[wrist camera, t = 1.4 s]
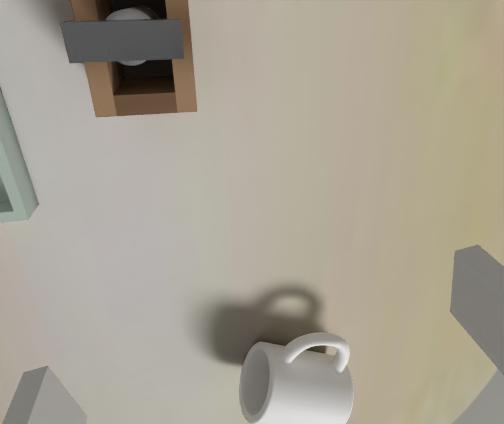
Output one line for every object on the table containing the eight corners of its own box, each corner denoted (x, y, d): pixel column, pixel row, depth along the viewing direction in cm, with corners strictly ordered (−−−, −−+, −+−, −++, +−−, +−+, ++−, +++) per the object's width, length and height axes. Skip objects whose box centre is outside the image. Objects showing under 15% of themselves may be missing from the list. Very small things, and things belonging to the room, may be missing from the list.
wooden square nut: (193, 91, 29) (197, 111, 24) (110, 95, 28) (96, 117, 23) (178, -86, 24) (178, -109, 18) (76, -87, 23) (46, -112, 18)
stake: (108, 46, 26) (72, 72, 17) (101, 6, 25) (57, 11, 16) (182, 43, 27) (185, 67, 18) (178, 4, 26) (179, 9, 16)
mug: (305, 384, 49) (327, 448, 42) (234, 373, 45) (244, 440, 38) (353, 316, 44) (386, 375, 37) (278, 298, 41) (299, 359, 34)
